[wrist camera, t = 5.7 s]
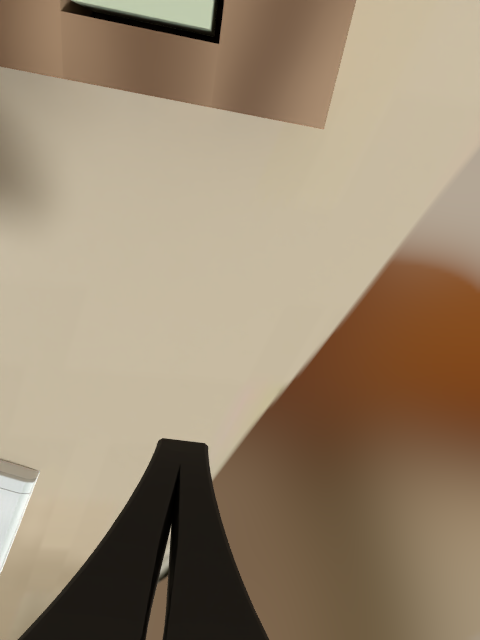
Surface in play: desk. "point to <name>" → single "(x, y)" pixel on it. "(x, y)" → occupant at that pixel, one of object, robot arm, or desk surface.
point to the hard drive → (13, 502)
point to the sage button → (162, 12)
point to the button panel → (192, 54)
